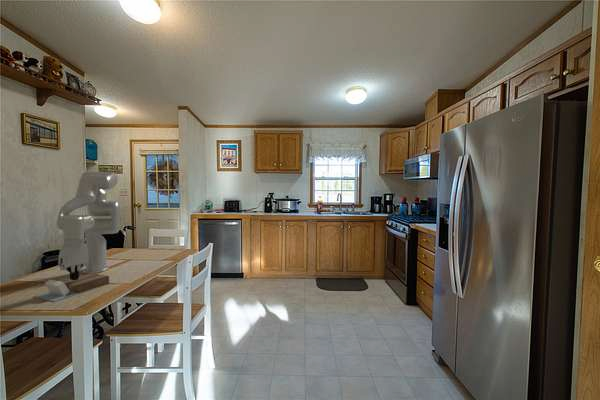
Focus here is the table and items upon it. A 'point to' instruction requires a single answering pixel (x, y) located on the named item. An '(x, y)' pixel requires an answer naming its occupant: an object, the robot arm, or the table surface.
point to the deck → (86, 282)
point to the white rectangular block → (57, 287)
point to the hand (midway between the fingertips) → (74, 279)
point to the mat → (54, 296)
